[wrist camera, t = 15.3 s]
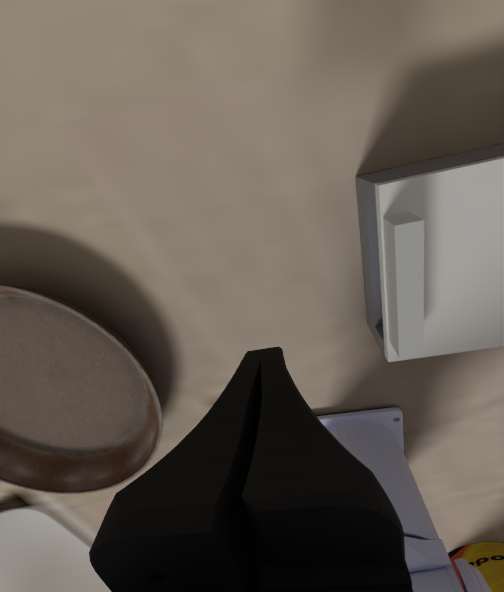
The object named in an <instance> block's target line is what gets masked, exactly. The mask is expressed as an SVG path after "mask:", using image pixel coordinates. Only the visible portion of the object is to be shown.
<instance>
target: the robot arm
mask: <svg viewBox="0 0 504 592" xmlns="http://www.w3.org/2000/svg"><path fill="white" fill-rule="evenodd" d="M396 417H397V418H396ZM89 555H90V562H91V564H92V566H93V568H94V569H95V572H96V573H97V574H98V575H99V577H100V578H101V579H102V580H103V581H104V583H105V584H106V585H107V586H108V588H109V589H110V590H111V591H112V592H464V590H465V592H491V590H490V588H489V586H488V584H487V583H486V581H485V579H484V577H483V575H482V574H481V572H480V571H479V570H478V569H476V568H475V567H473V566H472V565H470V564H468V563H467V561H466V560H465V559H464V558H459V559H455V560H454V562H455V565H456V568H457V570H458V573H459V575H460V577H461V580H462V585H463V587H464V590H463V588H462V586H461V583H460V581H459V579H458V577H457V574H456V572H455V570H454V567H453V565H452V563H451V560H450V558H449V556H448V553H447V551H446V549H445V546H444V544H443V542H442V540H441V539H439V536H438V534H437V532H436V529H435V527H434V524H433V522H432V520H431V517H430V515H429V513H428V510H427V508H426V505H425V503H424V501H423V498H422V496H421V494H420V491H419V489H418V486H417V484H416V482H415V479H414V477H413V475H412V472H411V470H410V468H409V465H408V463H407V460H406V458H405V456H404V439H403V413H402V411H401V409H400V408H397V407H393V408H384V409H376V410H367V411H359V412H350V413H341V414H333V415H324V416H316V415H315V414H314V413H313V411H312V410H311V409H310V407H309V406H308V404H307V403H306V402H305V400H304V399H303V397H302V396H301V394H300V392H299V391H298V389H297V387H296V386H295V384H294V382H293V380H292V378H291V376H290V374H289V372H288V370H287V368H286V365H285V360H284V356H283V351H282V349H281V348H280V347H273V348H266V349H260V350H253V351H248V352H247V353H246V354H245V356H244V358H243V360H242V361H241V363H240V365H239V367H238V368H237V370H236V372H235V374H234V375H233V377H232V378H231V380H230V382H229V383H228V385H227V386H226V388H225V390H224V391H223V392H222V394H221V395H220V397H219V398H218V399H217V401H216V402H215V404H214V405H213V406H212V408H211V409H210V410H209V412H208V413H207V414H206V415H205V417H204V418H203V419H202V420H201V421H200V422H199V424H198V425H197V426H196V427H195V428H194V429H193V430H192V431H191V432H190V433H189V434H188V435H187V436H186V437H185V438H184V439H183V440H182V441H181V442H180V443H179V444H178V445H177V446H176V447H175V448H174V449H173V450H171V451H170V452H169V453H168V454H167V455H166V456H165V457H164V458H162V459H161V460H160V461H159V462H158V463H156V464H155V465H154V466H153V467H151V468H150V469H149V470H148V471H146V472H145V473H144V474H142V475H141V476H140V477H138V478H137V479H136V480H134V481H133V482H132V483H130V484H129V485H127V486H126V487H125V488H123V489H122V490H120V491H119V492H118V493H116V495H115V497H114V499H113V501H112V503H111V505H110V507H109V508H108V511H107V513H106V515H105V517H104V520H103V522H102V524H101V527H100V529H99V531H98V533H97V536H96V538H95V540H94V543H93V545H92V547H91V549H90V552H89Z"/></svg>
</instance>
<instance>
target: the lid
mask: <svg viewBox="0 0 504 592" xmlns="http://www.w3.org/2000/svg"><path fill="white" fill-rule="evenodd" d="M375 193H376V211H377V228H378V245H379V263H380V280H381V297H382V314H383V332H384V349H385V357H386V359H387V361H388V362H394V361H402V360H409V359H416V358H423V357H431V356H438V355H445V354H453V353H460V352H467V351H475V350H482V349H489V348H497V347H504V156H501V157H496V158H491V159H487V160H482V161H478V162H473V163H469V164H464V165H459V166H455V167H450V168H446V169H441V170H437V171H432V172H427V173H423V174H418V175H414V176H409V177H405V178H400V179H395V180H391V181H386V182H382V183H377V184H375Z"/></svg>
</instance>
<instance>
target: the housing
mask: <svg viewBox="0 0 504 592" xmlns="http://www.w3.org/2000/svg"><path fill="white" fill-rule="evenodd" d="M501 156H504V143H503V144H498V145H494V146H489V147H485V148H480V149H476V150H471V151H467V152H462V153H458V154H454V155H449V156H445V157H440V158H436V159H431V160H427V161H422V162H418V163H413V164H409V165H404V166H400V167H396V168H391V169H387V170H382V171H378V172H373V173H369V174H364V175H360V176H355V177H356V190H357V202H358V214H359V226H360V239H361V251H362V263H363V275H364V287H365V300H366V312H367V324H368V326H369V328H370V329H371V331H372V333H373V335H374V337H375V339H376V341H377V343H378V345H379V347H380V348H381V350H382V352H383V353H385V349H384V332H383V314H382V297H381V280H380V263H379V245H378V228H377V211H376V193H375V184H377V183H382V182H386V181H391V180H395V179H400V178H405V177H409V176H414V175H418V174H423V173H427V172H432V171H437V170H441V169H446V168H450V167H455V166H459V165H464V164H469V163H473V162H478V161H482V160H487V159H491V158H496V157H501Z"/></svg>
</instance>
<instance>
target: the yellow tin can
mask: <svg viewBox="0 0 504 592" xmlns="http://www.w3.org/2000/svg"><path fill="white" fill-rule="evenodd" d="M448 556H449V558H450V560H451V563H452V565H453V567H454V570H455V572H456V574H457V577H458V579H459V581H460V583H461V586H462V588H463V590H464V587H463V585H462V580H461V577H460V575H459V573H458V570H457V568H456V565H455V562H454V560H455V559H459V558H464V559H465V560H466V561H467V563H468V564H470V565H472V566H473V567H475V568H476V569H478V570H479V571H480V572H481V574H482V575H483V577H484V579H485V581H486V583H487V584H488V586H489V588H490V590H491V592H504V543H499V542H481V543H474V544H469V545H466V546H463V547H459V548H457V549H455V550H453V551H451V552H450V553H448ZM464 592H465V590H464Z"/></svg>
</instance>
